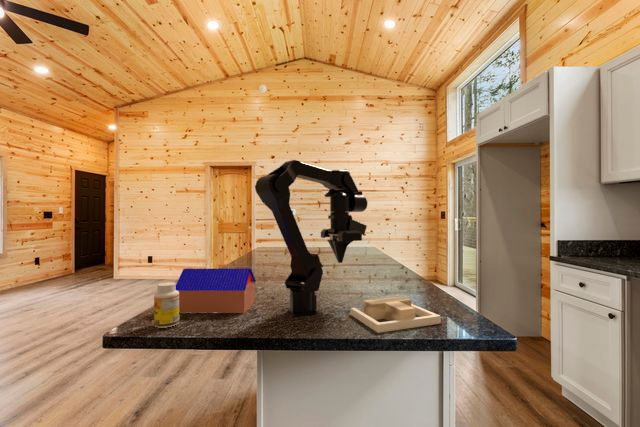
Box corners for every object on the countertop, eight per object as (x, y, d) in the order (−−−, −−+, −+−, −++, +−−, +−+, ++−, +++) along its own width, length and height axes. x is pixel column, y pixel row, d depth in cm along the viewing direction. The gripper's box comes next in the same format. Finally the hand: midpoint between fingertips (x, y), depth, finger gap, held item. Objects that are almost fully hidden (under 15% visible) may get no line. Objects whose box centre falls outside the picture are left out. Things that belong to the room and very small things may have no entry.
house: (245, 315, 87) (244, 272, 87) (173, 314, 88) (173, 272, 88) (256, 303, 99) (255, 265, 99) (193, 302, 100) (192, 265, 100)
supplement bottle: (155, 323, 80) (155, 282, 80) (179, 320, 82) (179, 280, 82) (153, 331, 75) (152, 287, 75) (179, 327, 77) (178, 284, 77)
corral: (377, 332, 72) (377, 324, 72) (350, 314, 85) (350, 308, 85) (440, 323, 78) (440, 315, 78) (406, 307, 91) (406, 301, 91)
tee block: (363, 315, 84) (363, 300, 84) (402, 310, 88) (402, 296, 88) (386, 329, 74) (386, 312, 74) (429, 323, 78) (428, 306, 78)
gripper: (377, 211, 92) (378, 265, 92) (350, 212, 110) (350, 257, 110) (342, 211, 89) (343, 267, 89) (319, 212, 106) (320, 259, 106)
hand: (340, 262), depth 98 cm, fingers closed
